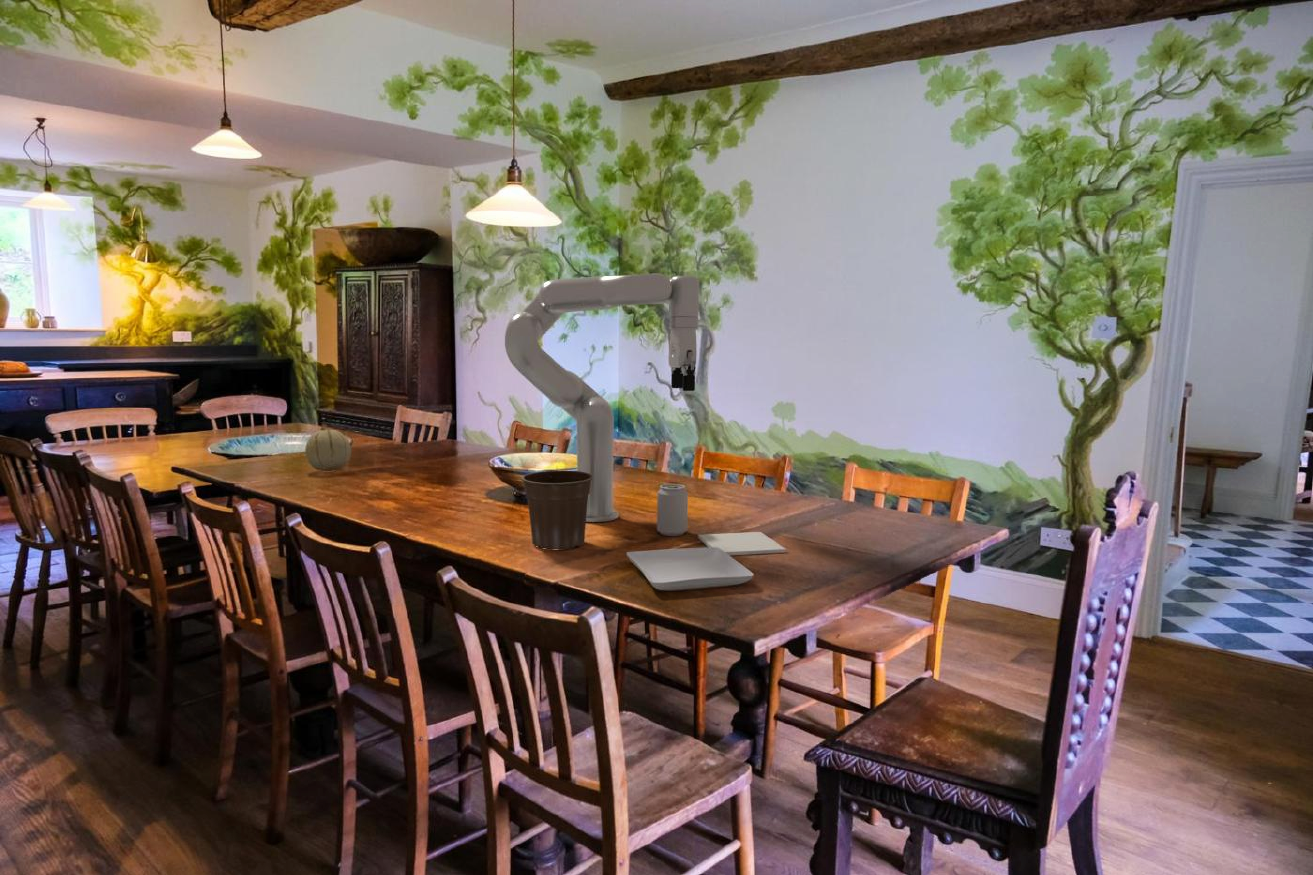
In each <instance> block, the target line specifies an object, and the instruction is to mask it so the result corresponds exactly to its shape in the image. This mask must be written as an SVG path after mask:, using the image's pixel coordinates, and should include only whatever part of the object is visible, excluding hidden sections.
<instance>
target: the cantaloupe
mask: <svg viewBox="0 0 1313 875" xmlns="http://www.w3.org/2000/svg"><path fill="white" fill-rule="evenodd" d="M304 452H305V458H306V460H307V461H308V464H309V465H311V467H312V468H314V469H315V470H317V471H319V470H321V471H320V472H323V471H332V470H337V471H339V470H342V468H344V467H345V466H346V465H347V464H348V463H349V461H350V458H351V455H352V447H351V443H350V441H349V440H348V437H346V435H344V434H343V433H342V432H340V431H338V430H335V429H327V428H326V427H321V428H320V430H319V431H316V432H315V433H313V434H312V435H311V436H310V437H309V439H308V440H307V442H306V444H305V451H304Z"/></svg>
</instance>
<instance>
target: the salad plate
mask: <svg viewBox="0 0 1313 875" xmlns="http://www.w3.org/2000/svg"><path fill="white" fill-rule="evenodd" d="M626 556H627V558H628V559H629V560H630V562H631V563H632V564H633V565H635V567H636V568H637V569H639V571H640V572H641V573H642V574H643V575H644V577H645V578H646V579H647V580H648V582H649V583H650V585H651V586H652V587H653V588H655V589H657V590H659V591H683V590H685V589H686V590H696V589H708V588H719V587H720V588H721V587H730V586H736V585H740V584H741V585H742V584H744V583H747V582H748V581H751V579H753V577H754V573H753V572H752V571H751V570H749V569H748V568H747V567H745V566H744V565H743V564H741V563H740V562H739V561H737V560H736V559H735V558H733V557H732V555H730V556H729V555H728V554H727V553H725V552H724V551H723V550H721V549H720V548H717V547H710V548H709V547H688V548H687V547H686V548H685V547H683V548H668V549H665V548H664V549H652V550H637V551H627V552H626Z"/></svg>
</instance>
